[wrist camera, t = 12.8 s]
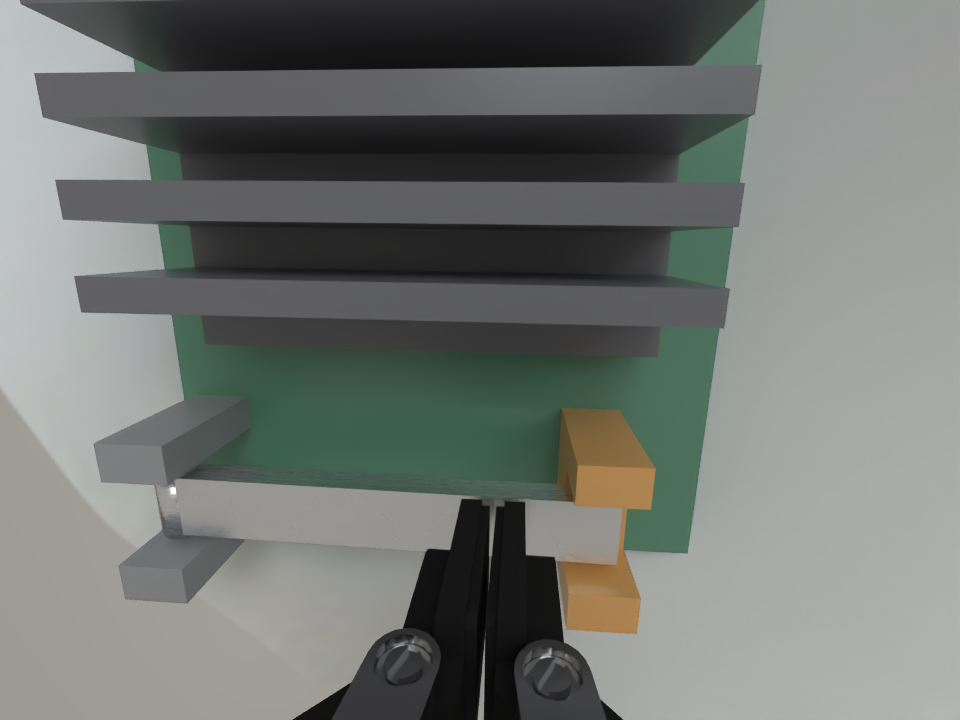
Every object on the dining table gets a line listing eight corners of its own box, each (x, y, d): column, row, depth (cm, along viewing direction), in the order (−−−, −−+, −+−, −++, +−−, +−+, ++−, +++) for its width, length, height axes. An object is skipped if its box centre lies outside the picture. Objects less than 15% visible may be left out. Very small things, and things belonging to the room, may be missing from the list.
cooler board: (99, -378, 13) (-371, -1082, 6) (804, -434, 12) (1217, -1399, 5) (221, 509, 20) (64, 652, 13) (676, 534, 19) (773, 707, 12)
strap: (171, 458, 16) (142, 475, 14) (616, 482, 14) (623, 503, 13) (180, 516, 16) (154, 537, 15) (610, 544, 15) (617, 570, 14)
